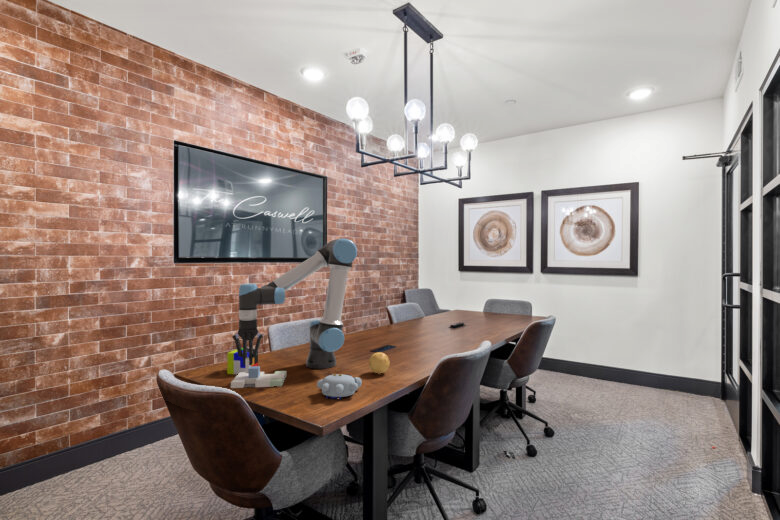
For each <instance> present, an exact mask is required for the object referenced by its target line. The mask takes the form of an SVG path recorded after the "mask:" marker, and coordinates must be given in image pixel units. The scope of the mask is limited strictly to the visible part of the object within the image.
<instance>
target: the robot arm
mask: <svg viewBox="0 0 780 520" xmlns="http://www.w3.org/2000/svg"><path fill="white" fill-rule="evenodd" d="M357 255H358V248H357V245H356V244H355V243H354V242H353V240H350V239H349V238H338V239H332V240H330V241H329V242H328V243H326V244H325V245H324V246H322V247H320V248H319V249H318V250H316V251H315V254H313V255H311V256H310V257H309V258H307V259H306V260H304V261H302V262H300V264H298V265H296V266H294V267H293V268H291V269H290V270H288V271H286V272H285V273H283V274H282V275H280V276H278V277H277V278H276V279H275V278H274V280H272V281H270V282H269V283H267V284H265V285H263V286H261V287H258V285H257V284H256V283H242V284H240V285H239V286H238V288H239V289H238V319H239V320H238V331H237V333H236V334H233V335H232V339H233V340H234V343H235V344H234V345H235V348H236V349H237V351H238V355H239V357H242V358H243V365H246V370H245V373H249V368H250V365H252V364H253V357H255V356H256V355H257V353H258V354H259V348H260V345H261V341H262V339H263V337H264V333H260V332H259V329H258V319H257V318H258V306H262V305H263V306H264V305H265V306H266V305H269V306H270V305H282V304H284V303H285V301H286V291H288V290H290V289H291V288H293V287H294V286H296V285H298V284H299V283H301V282H302V281H304V280H305V279H306V278H308V277H310V276H311V275H313V274H314V273H316V272H318V271H320V270H321V269H322V268H323V267H324V268H328V267H329V268H330V270H329V276H328V282H327V289H326V290H327V291H326V296H325V303H324V309H323V316H322V318H321V319H319V320H318V319H317V320H311V321H310V322H309V352H308V355H307V358H306V360H305V361H306V363H305V365H306V368H309V369H316V370H321V369H329V368H333V367H335V366H337V359H336V356H335V352H336V351H338V350H340V349H341V347H343V345H344V343H345V334H344V332H343V329H344V323H343V320H342V315H343V308H344V301H345V297H346V296H345V294H346V288H347V281H348V276H349V275H348V274H349V271H350V270H351V269H352V268H353V262H354V261H355V259H356V258H357ZM255 337H256V338H257V339H256V342H255V347H254V339H255ZM240 338H241V340H240ZM240 341H242V345H241V342H240ZM241 348H243V353H242V349H241ZM247 348H248V349H249V357H247ZM253 349H255V350H254V353H253Z"/></svg>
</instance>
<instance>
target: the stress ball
mask: <svg viewBox="0 0 780 520" xmlns="http://www.w3.org/2000/svg"><path fill="white" fill-rule="evenodd" d="M390 365H391V362H390V359H389V357H388V355H387V354H385V352H381V351H379V352H378V351H377V352H374V353H372V355H371V356H370V358H369V359H368V366H369V369H370V370H371V371H372V372H373V373H375V374H376V373H378V374H377V375H382V374H383V373H385V372H387V370H388V369H390ZM381 373H382V374H381Z"/></svg>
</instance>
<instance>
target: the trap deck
mask: <svg viewBox="0 0 780 520" xmlns="http://www.w3.org/2000/svg"><path fill="white" fill-rule="evenodd" d="M287 375H288V374H287V370H276V371H274V373H265V371H260V376H259V377H258V378H249V373H245V372H240V373H239V374H238V375H237V374H236V375H235V377H234V378H233V379H232V380H231V382H230V389H246V388H247V387H250V388H268V387H269V388H270V387H271V388H272V387H273V388H274V386H277V387H283V385H284V382H285V381H286V379H285V378H287ZM284 380H285V381H284Z"/></svg>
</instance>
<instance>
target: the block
mask: <svg viewBox="0 0 780 520" xmlns="http://www.w3.org/2000/svg"><path fill="white" fill-rule="evenodd" d="M260 372H261V366H260V365H258V366H251V367H250V368H249V378H258V377H259V376H260Z"/></svg>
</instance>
